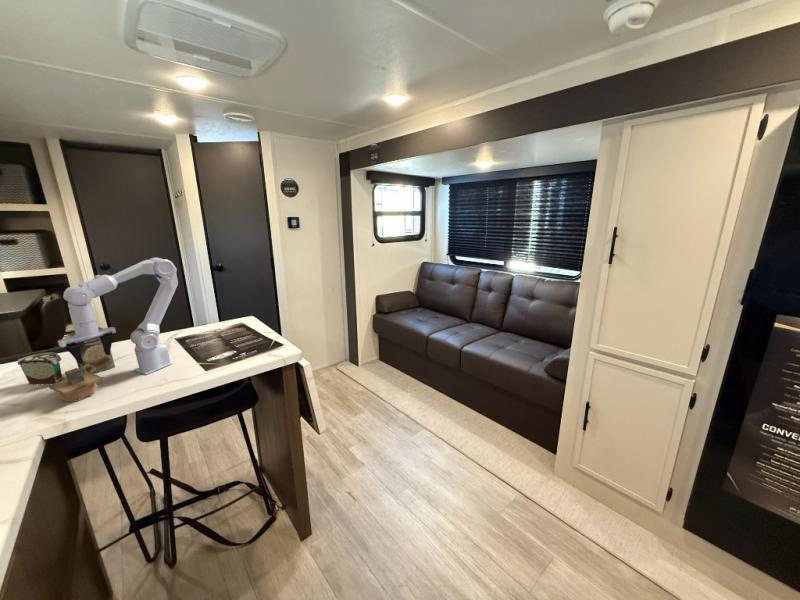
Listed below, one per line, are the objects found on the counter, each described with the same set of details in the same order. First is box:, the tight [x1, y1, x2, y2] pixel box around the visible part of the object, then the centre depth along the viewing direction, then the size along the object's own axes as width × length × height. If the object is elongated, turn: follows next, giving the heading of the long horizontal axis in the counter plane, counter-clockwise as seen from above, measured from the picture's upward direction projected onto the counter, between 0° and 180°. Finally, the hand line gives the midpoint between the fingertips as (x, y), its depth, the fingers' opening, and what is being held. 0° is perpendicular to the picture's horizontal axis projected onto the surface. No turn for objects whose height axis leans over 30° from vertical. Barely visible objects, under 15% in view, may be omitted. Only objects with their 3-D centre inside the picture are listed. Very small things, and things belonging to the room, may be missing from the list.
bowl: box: [58, 383, 98, 402], centre depth 106 cm, size 8×8×4 cm
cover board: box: [48, 367, 105, 395], centre depth 105 cm, size 10×10×5 cm
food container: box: [16, 352, 63, 386], centre depth 115 cm, size 12×6×10 cm, turn 92°
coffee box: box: [68, 326, 116, 375], centre depth 121 cm, size 9×6×16 cm
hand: (94, 358), depth 110 cm, fingers open, 7 cm apart
